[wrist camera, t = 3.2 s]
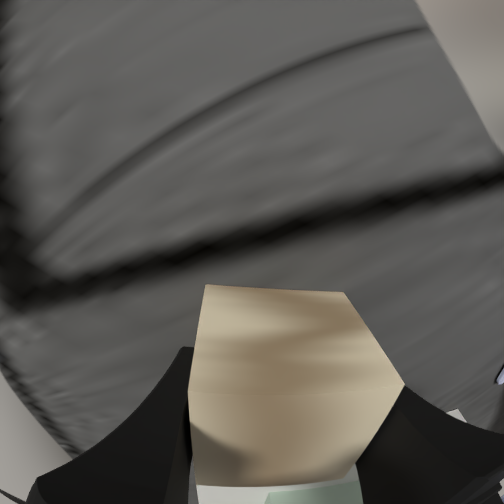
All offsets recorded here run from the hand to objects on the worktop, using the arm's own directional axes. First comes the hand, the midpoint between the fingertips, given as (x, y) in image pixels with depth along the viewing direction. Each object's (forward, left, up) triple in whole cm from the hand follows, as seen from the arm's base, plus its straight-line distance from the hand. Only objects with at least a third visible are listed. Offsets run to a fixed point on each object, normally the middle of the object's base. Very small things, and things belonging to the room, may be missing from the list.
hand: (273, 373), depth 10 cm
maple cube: (0, 0, -2) cm, 2 cm away
